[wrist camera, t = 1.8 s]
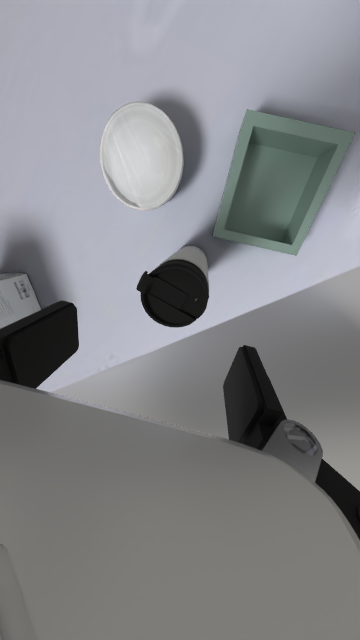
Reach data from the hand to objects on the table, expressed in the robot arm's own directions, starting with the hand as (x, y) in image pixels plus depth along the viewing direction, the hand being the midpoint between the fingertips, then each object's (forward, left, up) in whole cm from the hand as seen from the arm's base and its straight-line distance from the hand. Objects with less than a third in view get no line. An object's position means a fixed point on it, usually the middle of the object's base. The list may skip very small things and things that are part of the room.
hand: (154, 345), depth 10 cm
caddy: (-12, +9, -27) cm, 31 cm away
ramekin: (-12, -9, -27) cm, 31 cm away
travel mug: (0, 0, -27) cm, 27 cm away
